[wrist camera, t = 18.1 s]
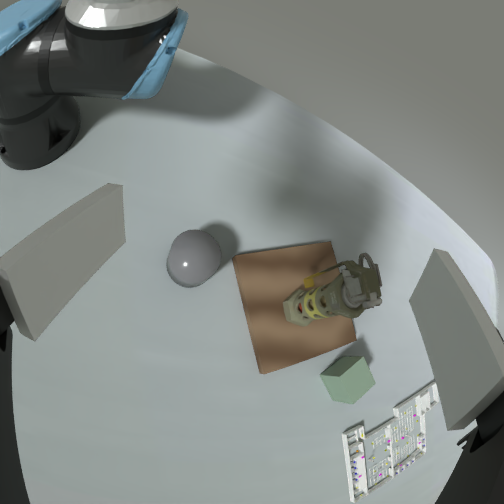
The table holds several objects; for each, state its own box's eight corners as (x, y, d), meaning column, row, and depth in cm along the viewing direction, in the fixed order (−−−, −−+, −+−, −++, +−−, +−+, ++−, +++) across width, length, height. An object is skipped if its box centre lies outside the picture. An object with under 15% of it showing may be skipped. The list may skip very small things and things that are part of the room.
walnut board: (232, 258, 41) (235, 255, 39) (325, 244, 47) (330, 241, 46) (259, 373, 37) (264, 374, 36) (350, 340, 44) (356, 340, 42)
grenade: (283, 330, 39) (357, 319, 25) (274, 282, 40) (341, 249, 27) (327, 320, 42) (405, 304, 28) (317, 276, 43) (390, 244, 30)
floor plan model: (339, 433, 39) (347, 435, 37) (430, 379, 49) (437, 379, 47) (348, 500, 35) (355, 503, 34) (434, 439, 45) (440, 440, 44)
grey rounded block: (162, 246, 38) (166, 233, 33) (206, 240, 40) (215, 227, 36) (171, 291, 37) (175, 283, 32) (215, 283, 39) (226, 275, 35)
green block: (319, 374, 40) (339, 376, 36) (342, 356, 43) (363, 356, 38) (332, 400, 40) (353, 404, 35) (354, 381, 42) (375, 383, 38)
